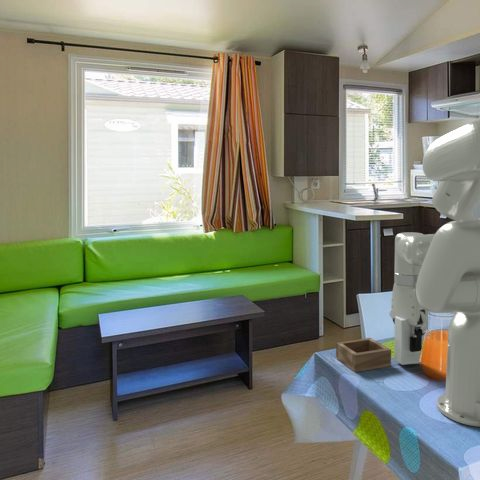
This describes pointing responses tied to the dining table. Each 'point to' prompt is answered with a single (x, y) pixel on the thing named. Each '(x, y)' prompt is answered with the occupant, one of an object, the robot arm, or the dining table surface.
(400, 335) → the skincare box
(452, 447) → the dining table surface
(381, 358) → the small open wooden box
